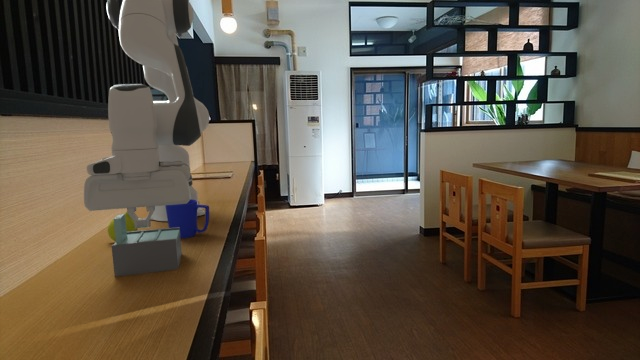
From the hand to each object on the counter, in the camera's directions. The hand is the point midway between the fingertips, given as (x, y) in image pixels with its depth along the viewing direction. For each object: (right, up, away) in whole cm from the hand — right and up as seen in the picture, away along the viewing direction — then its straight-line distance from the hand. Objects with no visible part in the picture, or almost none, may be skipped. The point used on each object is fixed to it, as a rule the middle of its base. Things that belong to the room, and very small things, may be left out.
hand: (142, 227), depth 81 cm
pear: (-15, -7, +21) cm, 26 cm away
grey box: (+1, -9, +1) cm, 9 cm away
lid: (+1, -3, +1) cm, 3 cm away
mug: (+2, -6, +23) cm, 24 cm away
